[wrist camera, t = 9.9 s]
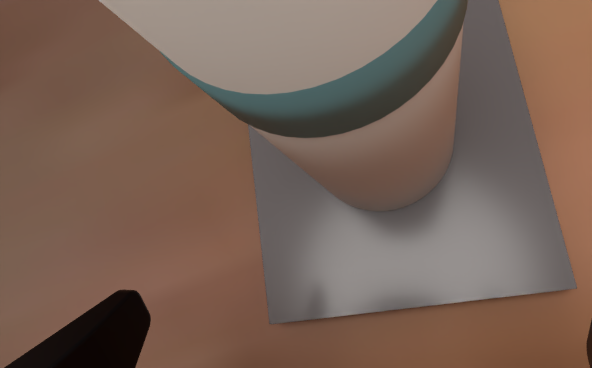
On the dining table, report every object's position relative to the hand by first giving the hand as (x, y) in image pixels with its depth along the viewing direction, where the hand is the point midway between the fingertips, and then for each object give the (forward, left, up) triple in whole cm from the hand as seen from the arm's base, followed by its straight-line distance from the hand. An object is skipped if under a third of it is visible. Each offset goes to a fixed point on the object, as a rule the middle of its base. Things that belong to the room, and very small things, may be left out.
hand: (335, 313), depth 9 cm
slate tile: (+6, -1, -10) cm, 11 cm away
